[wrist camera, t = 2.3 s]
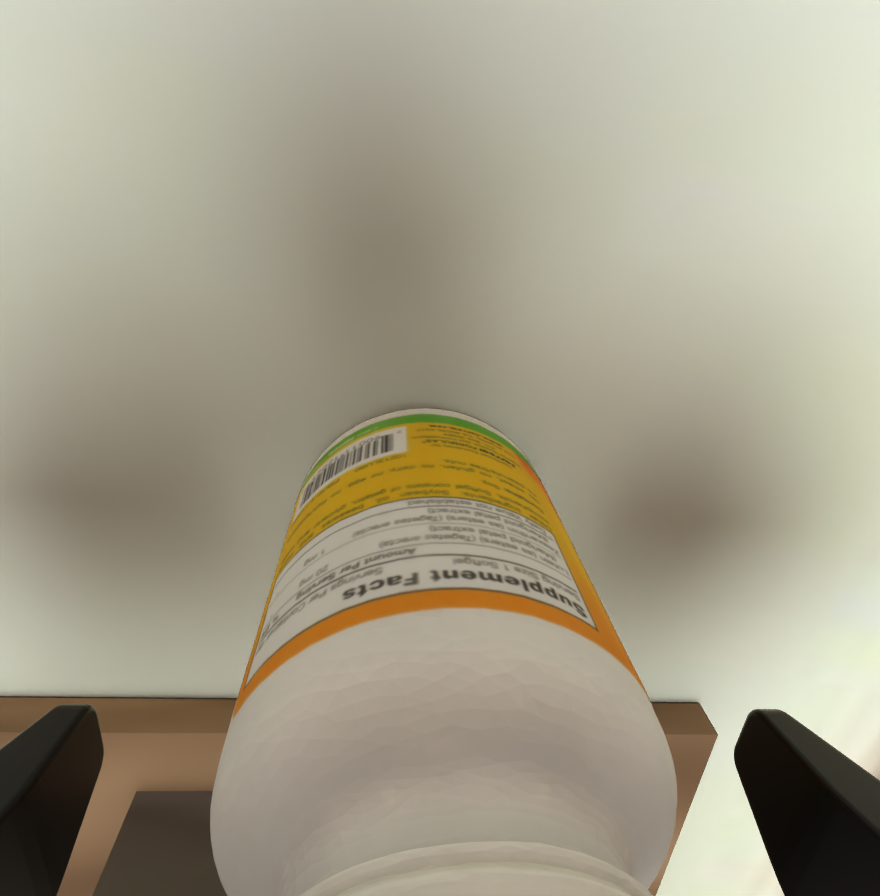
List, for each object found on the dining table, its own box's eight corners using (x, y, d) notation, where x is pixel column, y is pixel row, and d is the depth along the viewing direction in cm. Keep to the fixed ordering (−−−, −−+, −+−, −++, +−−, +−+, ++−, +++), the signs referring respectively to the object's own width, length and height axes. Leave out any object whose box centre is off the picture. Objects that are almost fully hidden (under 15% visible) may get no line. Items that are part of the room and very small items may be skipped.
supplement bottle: (498, 630, 15) (660, 1320, 6) (278, 591, 14) (66, 1344, 5) (577, 434, 13) (1014, 1038, 4) (325, 373, 12) (108, 984, 3)
